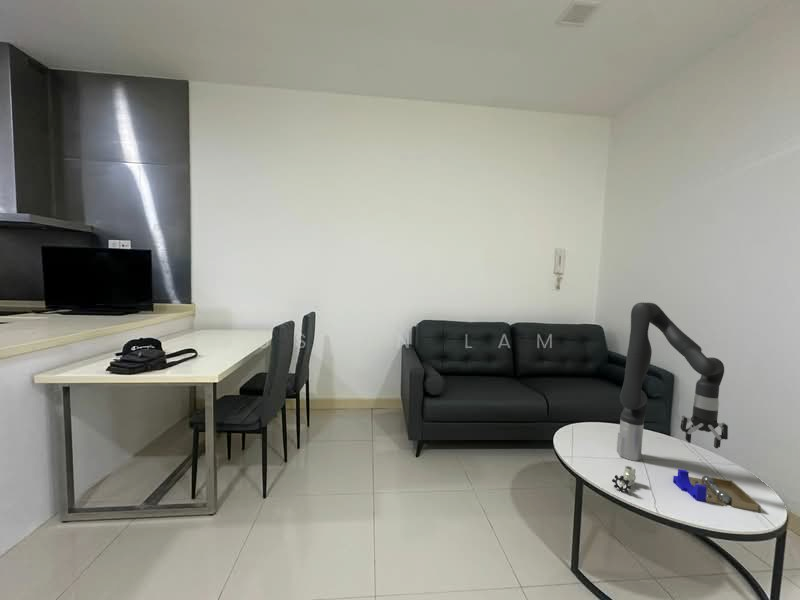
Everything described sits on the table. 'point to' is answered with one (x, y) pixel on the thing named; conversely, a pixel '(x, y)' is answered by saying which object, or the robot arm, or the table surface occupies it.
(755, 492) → the table surface
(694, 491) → the blue curved bracket
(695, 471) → the table surface
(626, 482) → the valve
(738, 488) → the hinge base
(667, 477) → the table surface
